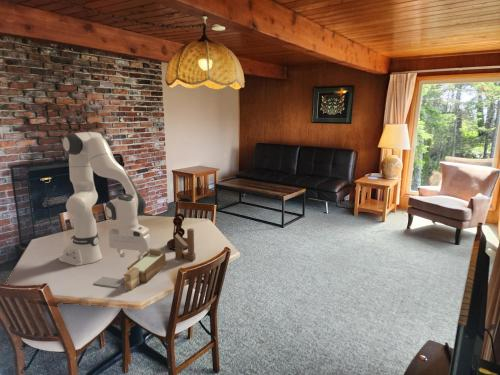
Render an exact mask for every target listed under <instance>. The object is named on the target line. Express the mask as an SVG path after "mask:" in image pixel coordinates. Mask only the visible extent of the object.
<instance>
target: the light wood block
mask: <svg viewBox="0 0 500 375" xmlns="http://www.w3.org/2000/svg"><path fill="white" fill-rule="evenodd" d="M123 280H124V283H123V285H124V290H126V291H132V290H134V289H135V288H136V287H137V286H139V285H140V283H141V282H140V281H139V268H135V267H132V268H130V269H129V270H128V269H127V271H125V272H124V273H123Z"/></svg>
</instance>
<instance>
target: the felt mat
mask: <svg viewBox="0 0 500 375" xmlns="http://www.w3.org/2000/svg"><path fill="white" fill-rule="evenodd" d="M93 285H94V286H100V287H108V288H112V289H119V288H120V287H121V286H122V285H124V279H121V278H114V277H107V276H102V277H100V278H99V279H97V280H96V281H95V282H93Z"/></svg>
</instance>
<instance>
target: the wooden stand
mask: <svg viewBox="0 0 500 375" xmlns="http://www.w3.org/2000/svg"><path fill="white" fill-rule="evenodd" d="M186 236H187V237H186V238H187V242H188V244H187V243H186V242H185V241H184V240H183V239H182V238H181V237H180V236H179V235H178V234H176V235H175V249H174V251H175V252H174V253H175V254H174V255H175V256H174V258H175V260H177V261H178V260H180V261H181V260H183V261H188V262H189V261H191V262H194V261H195V260H196V252H195V229H194V228H188V229H187V231H186ZM185 248H186V249H185ZM184 249H185V250H187V251H184Z"/></svg>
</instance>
